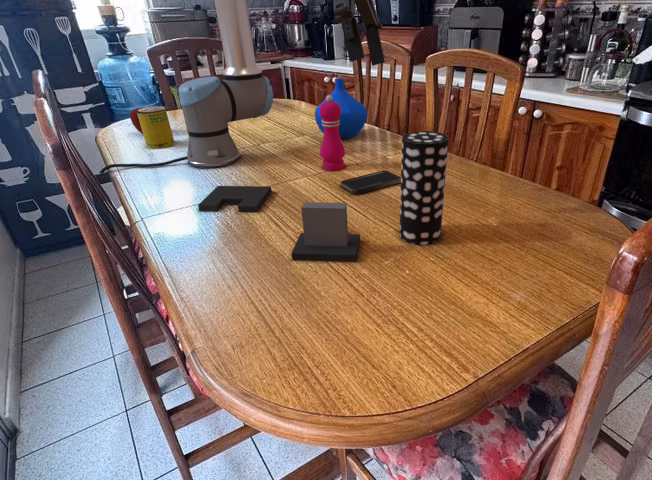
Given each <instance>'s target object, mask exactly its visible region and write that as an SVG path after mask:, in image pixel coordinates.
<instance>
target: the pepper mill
mask: <svg viewBox="0 0 652 480" xmlns="http://www.w3.org/2000/svg"><path fill="white" fill-rule="evenodd" d="M325 99H326V100H327V101H326V102H323V101H322V102H323V103H322V102H321V103H322V104H321V103H320V104H321V105H320V104H319V105H320V107H319V114H320V116H321V117H322V119H323V120H322V126H323V127H324V133H323V139H322V142H321V144H320V148H319V155H320V157H321V158H322V163H321V164H322V169H323V170H325V171H330V172H331V171H339V170H342V169H343V168H344V167H345V161H344V157H345V155H346V149H345V145H344V143H343V141H342V139H340V136H339V131H338V126H339V125H340V123H339V121H340V120H339V119H338V118H339V116H340V115H341V108H340V106H339V104H338V103H336V102H334V101H332V99H333V98H332V96H331V95H330V94H327V95H326V96H325Z"/></svg>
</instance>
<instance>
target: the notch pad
mask: <svg viewBox="0 0 652 480" xmlns="http://www.w3.org/2000/svg"><path fill="white" fill-rule="evenodd" d="M272 190H273V189H272V186H270V185H269V186H267V185H266V186H265V185H263V186H260V185H250V186H249V185H217V186H216V187H215V188H214V189H213V190H212V191H211V192H210V193H209V194H207V196H205V198H204V199H203V200H201V201H200V203H198V204H197V209H198V211H199V212H218V211H220V209H222V208H223V206H224V205H237V210H238V212H239V213H258V212H259V210H260V209H261V208H262V206H264V203H265V202H266V201H267V199H268V198H269V196H270V195H271V194H272V192H273V191H272Z"/></svg>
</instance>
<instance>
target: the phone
mask: <svg viewBox="0 0 652 480" xmlns="http://www.w3.org/2000/svg"><path fill="white" fill-rule="evenodd" d="M339 184H340V185H339V186H340V188H342V189H344V190H346V191H347V192H349V193H350V194H352V195H360V194H364V193H368V192H371V191H375V190H378V189H382V188H385V187H386V188H387V187H389V186H394V185H397V184H401V175H397V174H395V173H394V172H392V171H389V170H385V169H384V170H380V171H374V172H371V173H368V174H364V175H359V176H355V177H351V178H348V179H343V180H341V181H340V183H339Z"/></svg>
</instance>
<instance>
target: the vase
mask: <svg viewBox="0 0 652 480" xmlns="http://www.w3.org/2000/svg"><path fill="white" fill-rule="evenodd" d="M344 83H345V82H344V78H342V77H339V78H338V77H337V78H334V89H333V91H332V92H331V93H330V94H329V95H331V96H332V98H333V99H332V101H334V102H336V103H338V104H339V106H340V108H341V115H340V116H339V118H338V119H339V120H340V121H339V123H340V125H339V126H338V131H339V136H340V139H341V140H348V139H352V138H355V137H356V136H357V135H359V134H360V132H361V131H362V130H363V128H364V127H365V124H366V121H367V118H368V117H367V116H368V111H367V109H366V106H365V105H364V104H363V103H361V102H360V101H359V100H358V99H356V98H355V97H354V96H353V95H351V94H350V93H349V92H348V91H347V90H346V89H345V84H344ZM326 101H327V100H326V98H325V99H324V100H323V101H322V102H321V103H320V104H319V105H317V107H315V110H314V121H315V122H316V123H315V124H317V127H318V129H319V130H320V131H321V132H322V133H323V134H324V127H323V126H322V120H323V119H322V117H321V116H320V114H319V107H320V105H321V104H322V103H323V102H326Z"/></svg>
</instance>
